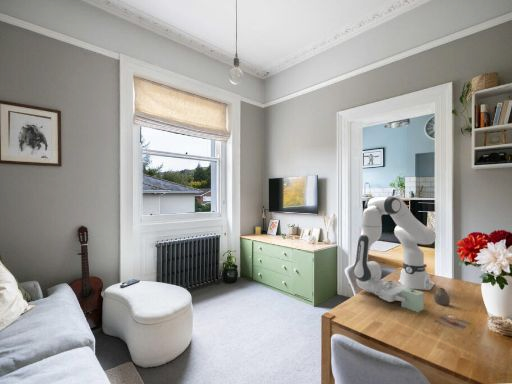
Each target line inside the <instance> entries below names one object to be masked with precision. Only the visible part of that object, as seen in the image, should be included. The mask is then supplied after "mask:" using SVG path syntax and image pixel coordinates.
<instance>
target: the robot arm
mask: <svg viewBox="0 0 512 384" xmlns="http://www.w3.org/2000/svg"><path fill="white" fill-rule="evenodd" d="M383 215H389V216H390V217H391V218H392V220H393V222H394V223H395V228H394V231H393V233H394V234H393V235H394V236H395V238H397V240H398V241H399V243H400V245H401V247H402V248H401V249H402V252H403V253H402V254H403V262H402V269H401V270H400V275H399V276H400V277H399V279H398V283H397V282H395V281H394V280H383V279H382V272H383V269H382V266H381V265H380V263H378V262H377V261H375V260H370V261H368V259H369V252H370V248H371V247H372V245H373V244H375V242H377V241H378V240H379V239H380V238H381V236H382V233H383V232H382V231H383V230H382V229H383V227H382V226H383V224H382V216H383ZM436 237H437V236H436V233H435V231H434V230H433V229H432V228H429V227H427V226H426V225H424V224H423V223H422V222H421V221H420V220H418V219H417V218H416V217H415V215H413V213H412V212H411V210H410V209H409V207H408V206H407V204H406V202H404V200H403V199H401V198H400V197H399V196H397V195H392V196H382V195H381V196H372V197H368V198H367V199H366V200H365V202H364V209H363V212H362V215H361V230H360V236H359V237H358V241H357V248H356V257H355V262H354V266H353V268H352V272H353V276H354V277H355V278H356V284H357V286H358V287H359V288H360V289H361V290H363V291H365V292H368V293H370V294H375V296H378V298H380V299H382V300H384V301H386V302H389V303H390V302H391V303H392V302H395V301H396V302H397V301H399V302H401V301H403V302H405V301H406V298H404V297H401V290H403V289H405V288H410V289H411V288H412V289H414V290H425V291H430V290H431V289H432V288H433V287H434V286H435V282H433V281H431V275H430V274H429V273H428V272H427V271H426V268H427V264H426V263H425V262H424V261H425V259H424V258H425V253H424V251H423V250H422V249H421V248H419V246H418V244H419V245H432V244H434V242H435V241H436Z"/></svg>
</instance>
